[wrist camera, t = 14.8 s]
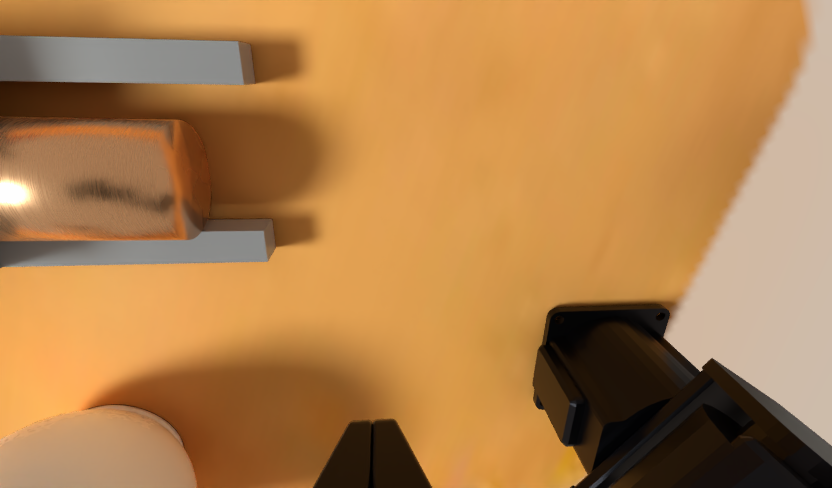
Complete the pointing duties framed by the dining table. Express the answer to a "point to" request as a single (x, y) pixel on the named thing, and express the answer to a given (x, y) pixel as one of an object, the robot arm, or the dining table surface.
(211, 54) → the gray forked cradle
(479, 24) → the dining table surface
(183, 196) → the pipe stub
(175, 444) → the lidded jar
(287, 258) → the dining table surface
